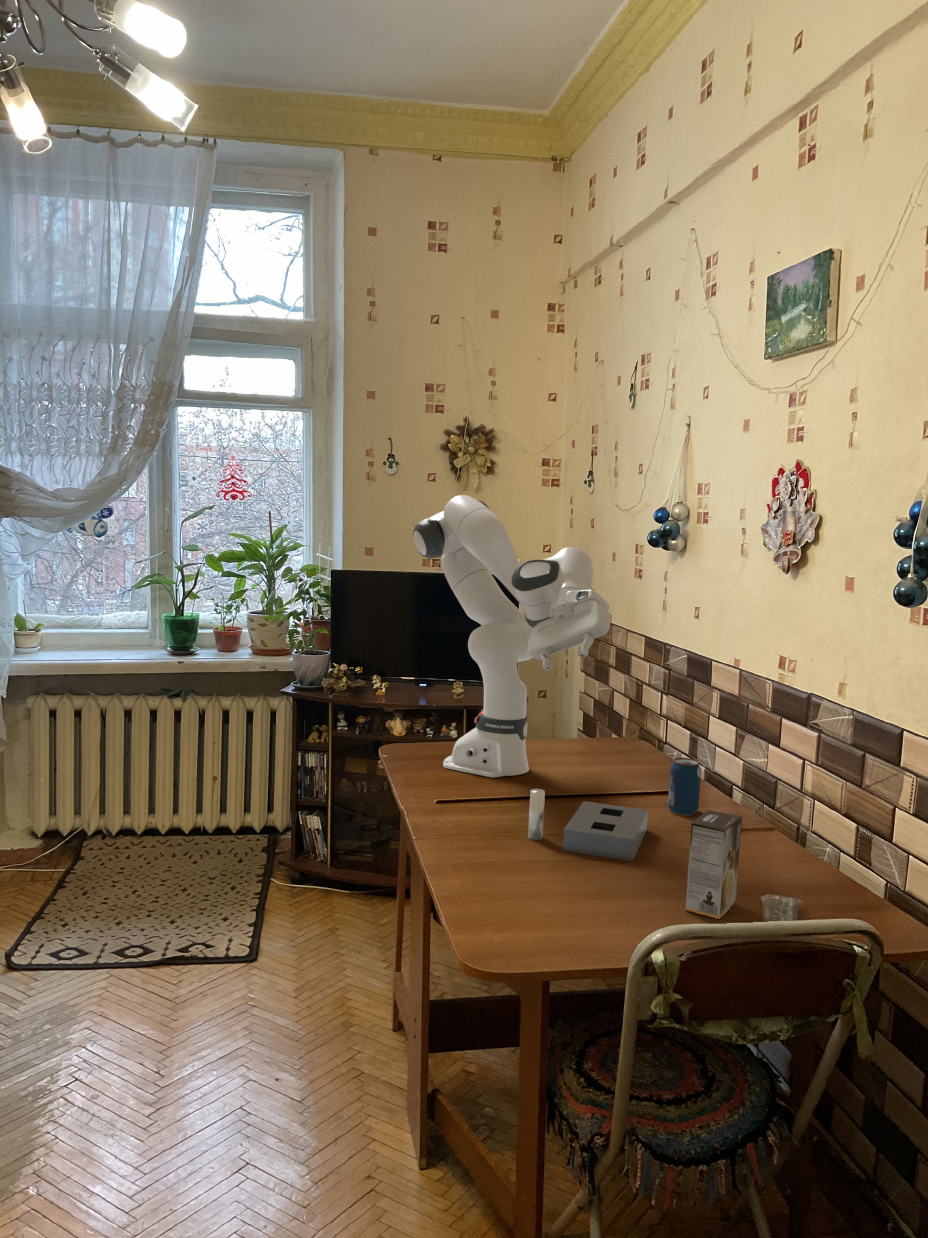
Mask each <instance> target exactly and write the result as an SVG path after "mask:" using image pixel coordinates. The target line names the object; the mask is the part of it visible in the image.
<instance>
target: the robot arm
mask: <svg viewBox="0 0 928 1238" xmlns="http://www.w3.org/2000/svg"><path fill="white" fill-rule="evenodd" d="M412 538H413V542H414V545H415V547H416V549H417V551H418V553H419V554H420V555H421V556H422V557H424V559H425V558H426V559H427V560H433V559H438V558H441V559H440V564H441V567H442V571H443V573H444V577H445V579H446V580H447V583H448V585H449V587H450V589H451V591H452V592H453V594H454V596H455V597H456V599H457V601H458V602H459V604H460V606H461V607H462V609H463V610H464V612H465V614H466V615H467V617H468V618H470V619H471V620H473V621H474V622H477V623H478V624H480V626H479V627H477V628H475V629H473V630H472V632H471V633H470V635H469V637H468V641H467V648H468V652H469V655H470V656H471V658H472V660H473V661H475V663H476V664H477V665H478V667H479V670H480V673H481V676H482V681H483V710H482V711H481V712H479V713H478V715H477V716H475V718H474V724H475V727H474V728H472V729H471V730H470V731H468V732H467V733H465V734H464V735H463V736H461V737H459V738H458V739H457V740H456V741H455V744H454V745H453V748H452V753H451V755H448V756H447V757H446V758H444V760H443V764H442V765H443V767H444V769H448V770H454V771H458V772H462V773H469V774H473V775H478V776H482V777H488V778H499V777H500V778H501V777H505V776H506V777H508V776H519V775H522V774H526V773H528V772H529V771H530V767H529V762H528V757H527V749H526V738H527V736H528V735H527V734H528V717H527V697H528V695H527V694H528V689H527V685H526V683H524V681H522V680H521V678H520V675H519V671H518V663H519V662H526V661H530V660H531V659H533V658H534V659H535V660H536V661H537V660H538V661H540V660H542V668H543V669H544V670H545V671H546V672H547V671H550V670H553V668H554V662H553V661H552V660H551V658H552V657H551V656H553V655H556V654H558V653H561V652H564V651H567V650H569V649H571V648H573V647H577V646H578V645H580V646H578V647H577V655H578V656H579V657H580V658H581V659H582V658H584V657H587V656H589V650H590V648H591V646H592V645H593V644H594V641H595V639H598V638H600V637H603V636H605V635H607V633H609V631H610V627H611V613H610V612H609V610H610V603H608V602H607V600H606V599H604V598H603V597H602V595H600V594H599V593H597V592H596V591H595V590H593V589H592V588H593V581H594V580H593V578H594V577H593V576H594V575H593V574H594V572H593V571H594V570H593V563H592V560H591V557H590V556H589V555H588V554H587V553H586V551H584V550H583V549H580V548H577V547H572V546H570V547H564V548H562V549H561V550H559V551H558V552H557V553H555V554H554V555H551V556H549V557H546V558H542V559H530V560H527V561H524V562H523V563H520V561H519V558H518V556H517V553H516V551H515V549H514V547H513V544H512V541H511V538H510V536H509V534H508V531H507V530H506V527H505V526H504V524H503V522H502V520H501V519H499V517H498V515H496V514H495V513H494V512H493V511H492V510H491V509H490V507H489V506H488V505H487V504H486V502H484V501H483V500H480V499H477V498H474V497H472V496H470V495H468V494H459V495H456V496H454V497H452V498H451V499H450V500H449V501H447V503H446V505H445V507H444V510H442V511H440V512H437V513H435V514H433V515H432V516H430V517H427V518H424V519H422V520H420V521H419V522H418V523H416V524H415V526H414V528H413V531H412ZM493 576H494V577H496V579H497V580H498V581H499V582H500V583H501V584H502V585H503V586H504V587H505V589H506V590H507V591H508V592H509V593H510V594H511V596H513V598H514V599H515V600H516V601H517V602H518V603H519V604H520V606H521V610H522V611H521V610H520V609H519V608H518V607H517V605H515V604H514V603H513V602H512V601H511V600H510V599H509V598H508V597H507V596H506V595H505V592H503V590H502V589H501V588H500V586H499V584H498V583H497V581H496V579H495V578H494V577H493Z"/></svg>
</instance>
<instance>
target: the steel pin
mask: <svg viewBox="0 0 928 1238" xmlns="http://www.w3.org/2000/svg"><path fill="white" fill-rule="evenodd" d="M529 791H530V793H529V794H530V796H529V811H528V826H527V827H528V830H527V831H528V832H527V839H529V840H533V841H541V840H543V835H544V834H543V832H544V831H543V830H544V819H545V818H544V816H545V814H544V813H545V798H546V797H545V796H546V790H544V789H542V788H541V789H540V788H532V789H530V790H529Z"/></svg>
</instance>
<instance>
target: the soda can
mask: <svg viewBox="0 0 928 1238" xmlns="http://www.w3.org/2000/svg"><path fill="white" fill-rule="evenodd" d="M670 765H671V766H670V770H669V784H668V797H667V799H668V800H667V806H668V809H669V810H670V812H671V813H673V814H676V815H679V816H694V815H695V814H696V812H697V811H698V809H699V806H700V805H699V804H700V794H701V781H702V780H701V776H702V769H701V766H700V762H699V760H697V759H694V758H690V757H689V758H688V757H675V758H674V759H673V762H672V764H670ZM693 814H694V815H693Z"/></svg>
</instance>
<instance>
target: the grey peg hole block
mask: <svg viewBox="0 0 928 1238" xmlns="http://www.w3.org/2000/svg"><path fill="white" fill-rule="evenodd" d="M648 813H649V810H648V809H642V808H634V807H629V806H622V805H621V806H620V805H615V804H614V805H613V804H607V803H600V802H594V801H593V802H592V801H585V800H583V801H582V802H581V804H580V806H579V807H578V809H577V810H576V812H575V813H574V814H573V816H572V817H571V818H570V820H569V821H568V823H567V824H566V826H564V829H563V840H562V841H563V843H562V851H563V852H569V853H576V854H581V855H589V856H594V857H600V858H606V859H607V858H608V859H612V858H613V860H619V859H621V860H620V861H625V860H628V861H627V862H631V861H633V862H634V860H635V858H634V857H636V855H637V853H638V851H637V850H639V849H640V846H641V844H642V842H643V839H644V837H645V835H646V832H647V829H648V828H647V827H648V818H649V817H648V816H649V815H648ZM641 841H642V842H641ZM638 848H639V849H638ZM633 859H634V860H633Z"/></svg>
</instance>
